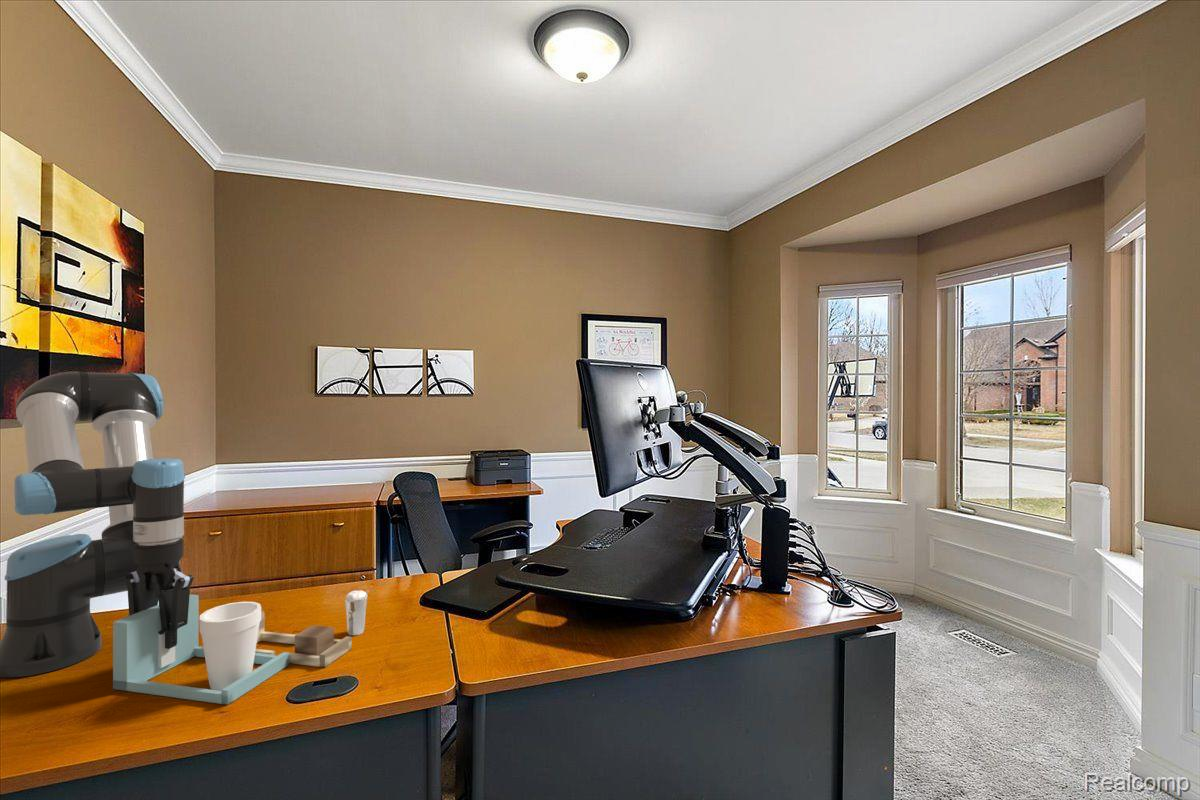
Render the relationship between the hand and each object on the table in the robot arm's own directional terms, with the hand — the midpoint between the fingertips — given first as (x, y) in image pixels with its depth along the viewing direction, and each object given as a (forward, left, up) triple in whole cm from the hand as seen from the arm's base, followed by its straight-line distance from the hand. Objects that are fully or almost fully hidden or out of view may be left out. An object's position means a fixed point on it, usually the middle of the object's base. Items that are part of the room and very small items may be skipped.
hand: (158, 662), depth 102 cm
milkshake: (+27, +22, -2) cm, 35 cm away
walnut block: (+25, +11, -2) cm, 27 cm away
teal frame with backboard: (+11, 0, -2) cm, 11 cm away
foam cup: (+17, -1, -2) cm, 17 cm away
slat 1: (+12, +11, -2) cm, 17 cm away
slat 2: (+25, +11, -2) cm, 28 cm away
